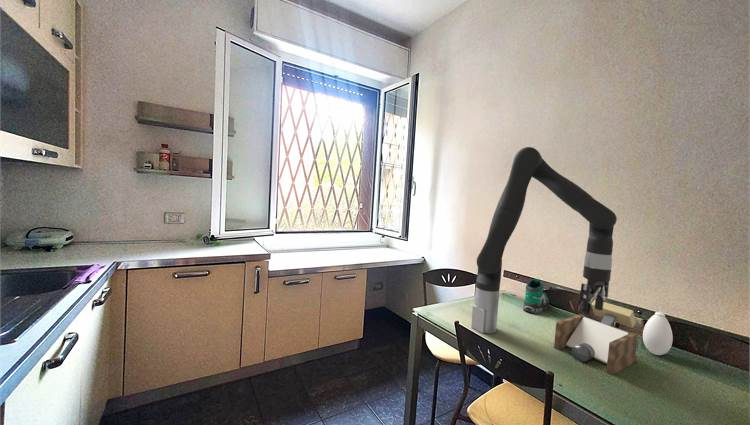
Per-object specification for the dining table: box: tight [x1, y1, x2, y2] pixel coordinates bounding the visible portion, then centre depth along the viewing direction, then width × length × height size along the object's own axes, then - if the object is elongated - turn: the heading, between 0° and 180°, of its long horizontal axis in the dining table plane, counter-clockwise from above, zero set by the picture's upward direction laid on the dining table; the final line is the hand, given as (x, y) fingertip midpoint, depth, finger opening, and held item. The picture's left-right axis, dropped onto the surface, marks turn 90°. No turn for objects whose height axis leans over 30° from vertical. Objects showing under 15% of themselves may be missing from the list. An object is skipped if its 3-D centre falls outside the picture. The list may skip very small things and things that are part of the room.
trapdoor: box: [566, 298, 637, 365], centre depth 107 cm, size 22×14×6 cm
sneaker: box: [522, 278, 550, 315], centre depth 149 cm, size 9×24×15 cm, turn 132°
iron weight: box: [571, 343, 595, 363], centre depth 101 cm, size 5×5×5 cm
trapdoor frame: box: [553, 313, 639, 376], centre depth 105 cm, size 19×18×10 cm
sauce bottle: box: [642, 305, 674, 356], centre depth 107 cm, size 8×8×18 cm
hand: (592, 311), depth 102 cm, fingers open, 8 cm apart
